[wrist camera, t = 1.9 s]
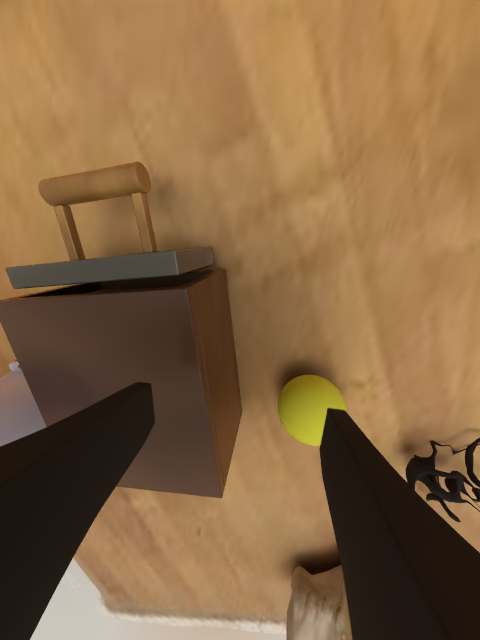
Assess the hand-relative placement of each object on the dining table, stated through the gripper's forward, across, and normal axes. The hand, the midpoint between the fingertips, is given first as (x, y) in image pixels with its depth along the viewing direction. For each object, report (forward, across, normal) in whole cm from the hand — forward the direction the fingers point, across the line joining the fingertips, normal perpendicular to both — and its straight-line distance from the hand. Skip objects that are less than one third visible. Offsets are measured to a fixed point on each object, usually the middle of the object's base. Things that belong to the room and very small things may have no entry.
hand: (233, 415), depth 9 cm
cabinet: (+10, +8, +3) cm, 13 cm away
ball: (+10, -5, +5) cm, 12 cm away
